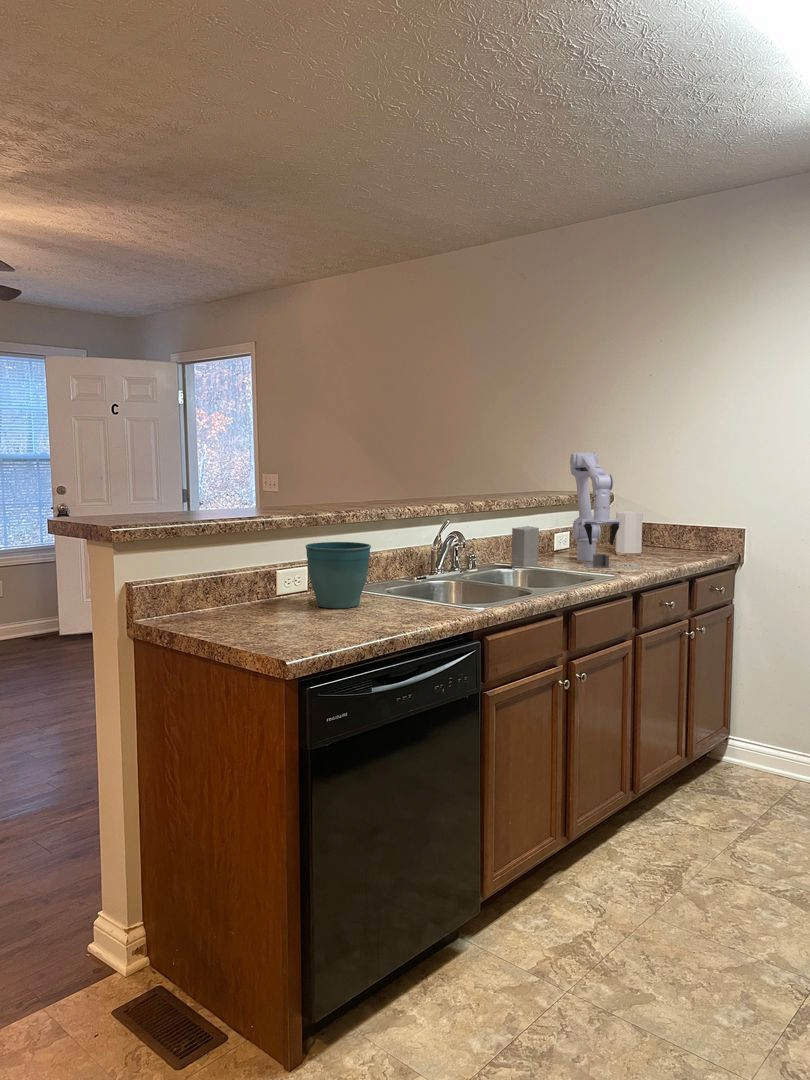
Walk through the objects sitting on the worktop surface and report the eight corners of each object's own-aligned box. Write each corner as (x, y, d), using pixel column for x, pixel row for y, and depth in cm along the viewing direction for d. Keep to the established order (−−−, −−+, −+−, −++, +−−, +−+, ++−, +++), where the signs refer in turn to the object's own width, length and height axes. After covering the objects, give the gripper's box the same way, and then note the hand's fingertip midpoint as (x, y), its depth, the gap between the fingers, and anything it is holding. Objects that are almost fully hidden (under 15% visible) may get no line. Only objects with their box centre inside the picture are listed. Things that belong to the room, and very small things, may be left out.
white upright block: (644, 554, 347) (646, 511, 345) (637, 557, 337) (638, 513, 335) (619, 553, 352) (620, 510, 351) (611, 555, 343) (612, 512, 341)
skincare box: (525, 567, 304) (525, 525, 302) (539, 569, 298) (540, 527, 297) (509, 569, 298) (510, 527, 297) (524, 571, 293) (524, 528, 291)
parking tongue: (554, 566, 308) (554, 562, 308) (575, 566, 308) (575, 562, 307) (556, 568, 300) (556, 564, 300) (578, 569, 300) (578, 565, 299)
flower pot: (383, 603, 227) (383, 543, 226) (347, 613, 212) (346, 549, 210) (331, 598, 236) (330, 540, 235) (292, 607, 221) (292, 546, 219)
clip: (593, 564, 300) (593, 554, 300) (606, 564, 300) (606, 554, 300) (594, 566, 296) (595, 555, 295) (608, 566, 295) (609, 555, 295)
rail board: (581, 567, 305) (581, 562, 305) (635, 567, 304) (635, 563, 303) (586, 572, 292) (586, 567, 291) (643, 572, 290) (643, 568, 290)
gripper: (583, 508, 292) (582, 545, 294) (623, 508, 291) (622, 545, 292) (580, 507, 299) (579, 543, 301) (620, 507, 298) (619, 543, 299)
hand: (600, 544), depth 297 cm, fingers open, 7 cm apart
